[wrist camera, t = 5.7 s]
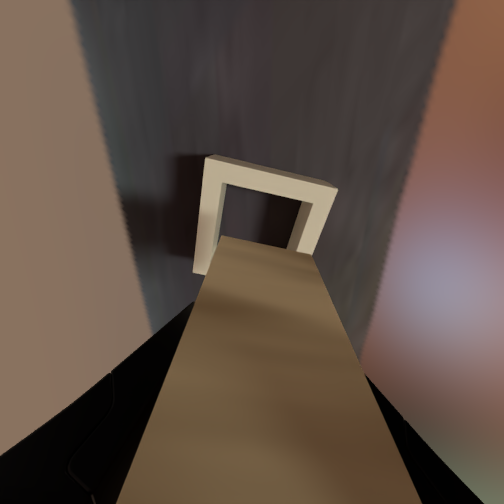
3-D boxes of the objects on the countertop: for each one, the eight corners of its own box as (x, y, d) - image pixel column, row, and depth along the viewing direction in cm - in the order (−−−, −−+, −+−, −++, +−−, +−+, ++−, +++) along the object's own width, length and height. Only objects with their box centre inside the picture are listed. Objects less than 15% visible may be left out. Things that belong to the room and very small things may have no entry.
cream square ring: (291, 272, 20) (296, 293, 17) (201, 254, 20) (192, 272, 17) (325, 180, 16) (338, 189, 14) (214, 154, 16) (205, 157, 13)
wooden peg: (285, 319, 11) (345, 739, 3) (209, 305, 11) (84, 728, 3) (310, 254, 10) (564, 823, 2) (221, 235, 9) (-9, 819, 1)
